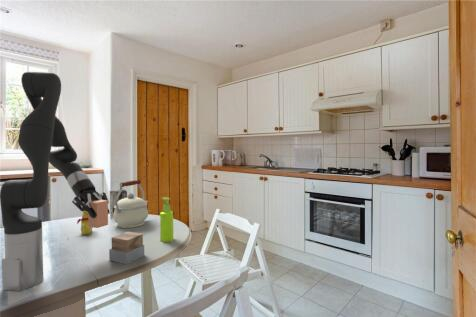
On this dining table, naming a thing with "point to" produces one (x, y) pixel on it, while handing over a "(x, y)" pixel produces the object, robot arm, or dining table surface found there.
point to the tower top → (127, 241)
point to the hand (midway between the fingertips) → (101, 215)
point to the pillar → (99, 214)
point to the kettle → (130, 208)
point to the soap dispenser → (166, 222)
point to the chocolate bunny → (85, 224)
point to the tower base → (126, 255)
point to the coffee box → (113, 197)
